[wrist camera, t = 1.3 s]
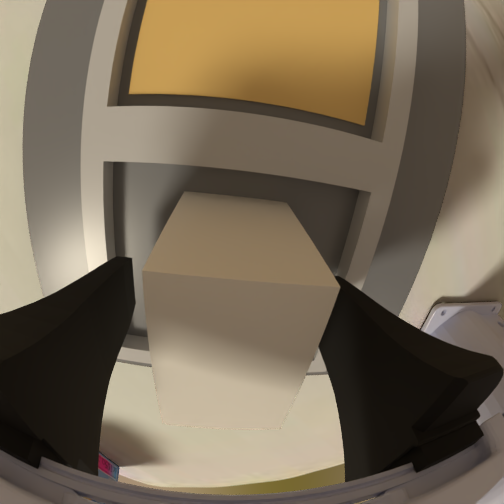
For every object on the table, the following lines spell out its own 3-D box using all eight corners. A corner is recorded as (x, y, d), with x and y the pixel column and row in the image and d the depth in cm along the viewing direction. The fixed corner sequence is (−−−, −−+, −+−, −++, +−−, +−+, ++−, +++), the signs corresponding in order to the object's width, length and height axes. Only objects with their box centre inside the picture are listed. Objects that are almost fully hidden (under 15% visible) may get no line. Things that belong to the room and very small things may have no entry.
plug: (286, 202, 11) (340, 287, 6) (260, 330, 14) (276, 435, 9) (184, 191, 10) (142, 270, 5) (180, 324, 13) (164, 430, 8)
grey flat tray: (456, -11, 6) (473, -16, 5) (365, 365, 17) (373, 381, 16) (85, -72, 4) (75, -83, 2) (64, 343, 14) (55, 360, 13)
